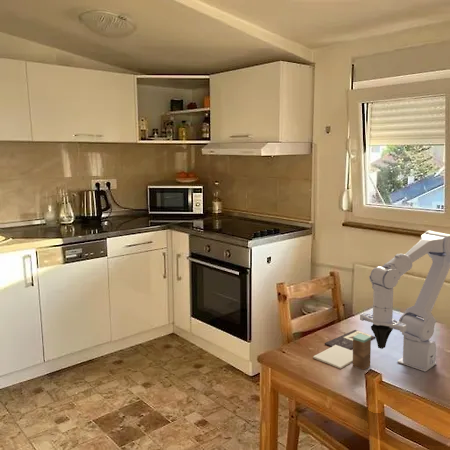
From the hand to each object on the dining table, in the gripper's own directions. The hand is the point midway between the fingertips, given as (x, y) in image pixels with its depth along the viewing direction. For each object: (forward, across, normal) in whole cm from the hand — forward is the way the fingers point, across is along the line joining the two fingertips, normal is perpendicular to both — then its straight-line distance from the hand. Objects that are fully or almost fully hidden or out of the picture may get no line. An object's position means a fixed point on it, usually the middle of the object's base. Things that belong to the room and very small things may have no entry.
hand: (381, 347), depth 142 cm
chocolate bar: (+9, -20, +14) cm, 26 cm away
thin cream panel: (+9, -16, 0) cm, 18 cm away
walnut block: (+9, -7, 0) cm, 11 cm away
